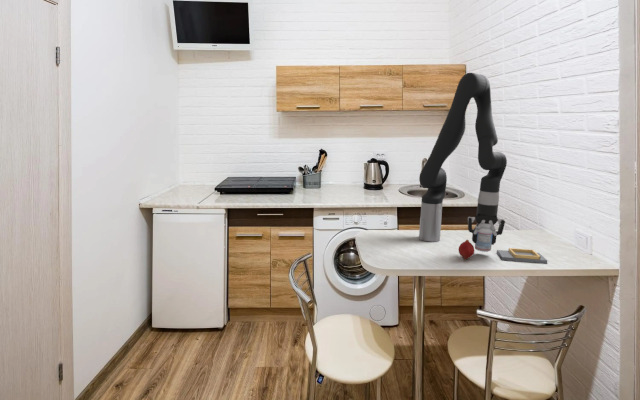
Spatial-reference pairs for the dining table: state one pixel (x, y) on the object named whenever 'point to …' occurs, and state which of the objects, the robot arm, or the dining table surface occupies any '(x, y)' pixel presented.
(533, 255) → the plate
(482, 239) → the pill bottle
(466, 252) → the onion
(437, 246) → the dining table surface
